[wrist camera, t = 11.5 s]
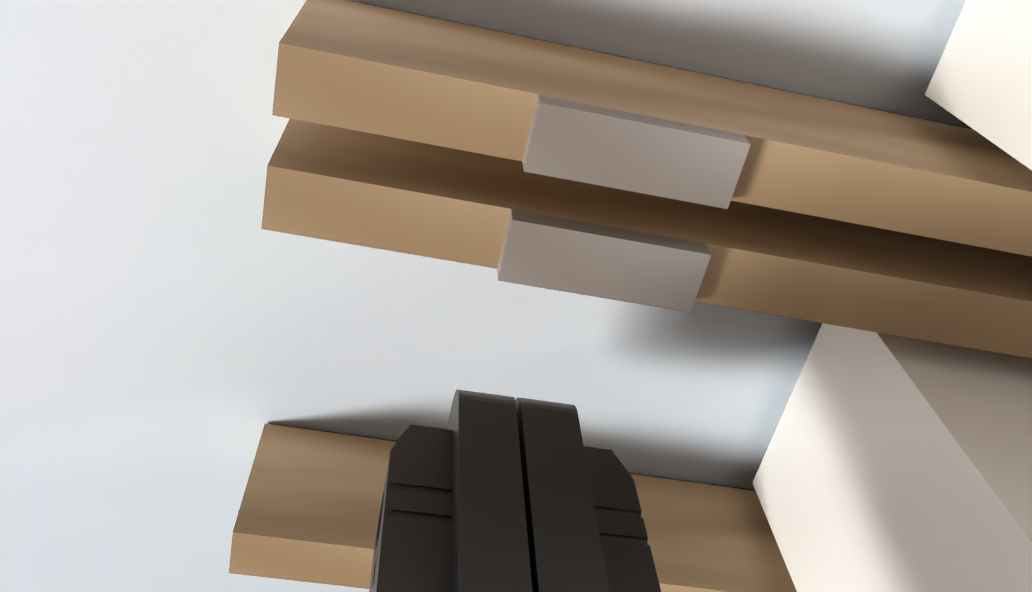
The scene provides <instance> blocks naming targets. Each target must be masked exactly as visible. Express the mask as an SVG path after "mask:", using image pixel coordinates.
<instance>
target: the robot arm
mask: <svg viewBox="0 0 1032 592" xmlns="http://www.w3.org/2000/svg"><path fill="white" fill-rule="evenodd" d="M641 512H642V511H641V507H640V503H639V499H638V494H637V490H636V486H635V482H634V479H633V478H632V477H631V475H630V474H629V473H628V471H627V470H626V469H625V467H624V466H623V465H622V464H621V462H620V461H619V460H618V458H617V457H616V456H615V454H614V453H613V452H612V450H607V449H599V448H591V447H584V446H583V441H582V435H581V430H580V424H579V419H578V413H577V409H576V407H575V406H574V405H570V404H562V403H555V402H548V401H540V400H533V399H525V398H517V399H516V400H515V398H514V397H508V396H501V395H493V394H486V393H478V392H471V391H463V390H456V392H455V395H454V399H453V403H452V408H451V413H450V418H449V422H448V427H447V429H440V428H432V427H424V426H416V425H410V426H409V427H408V428H407V430H406V431H405V432H404V433H403V435H402V436H401V437H400V439H399V440H398V441H397V442H396V444H395V445H394V446H393V447H392V449H391V450H390V456H389V462H388V467H387V473H386V479H385V485H384V491H383V497H382V502H381V508H380V514H379V520H378V526H377V532H376V537H375V544H374V553H373V562H372V572H371V581H370V590H369V592H661V589H660V585H659V580H658V576H657V572H656V568H655V564H654V560H653V556H652V552H651V548H650V545H648V543H647V542H648V535H647V531H646V527H645V523H644V519H643V518H641Z"/></svg>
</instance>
